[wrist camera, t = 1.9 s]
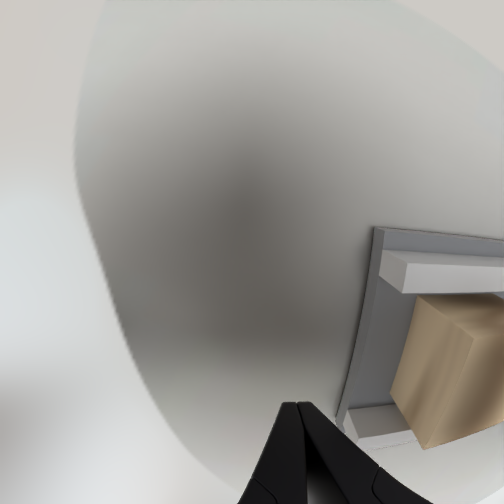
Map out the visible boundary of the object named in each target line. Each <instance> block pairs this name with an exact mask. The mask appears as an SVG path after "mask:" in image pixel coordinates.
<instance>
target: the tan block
mask: <svg viewBox="0 0 504 504" xmlns="http://www.w3.org/2000/svg"><path fill="white" fill-rule="evenodd" d="M390 395H391V396H392V398H393V400H394V401H395V403H396V405H397V406H398V408H399V410H400V411H401V413H402V415H403V416H404V418H405V420H406V421H407V423H408V425H409V426H410V428H411V430H412V431H413V433H414V435H415V436H416V438H417V440H418V442H419V443H420V445H421V447H422V449H423V450H425V449H428V448H432V447H435V446H438V445H442V444H445V443H448V442H451V441H454V440H457V439H460V438H463V437H466V436H468V435H471V434H474V433H476V432H479V431H481V430H484V429H486V428H489V427H491V426H494V425H496V424H498V423H500V422H503V420H504V299H502V298H500V297H499V296H497V295H495V294H493V293H491V294H461V295H417V298H416V303H415V307H414V312H413V316H412V320H411V324H410V328H409V332H408V335H407V339H406V343H405V346H404V350H403V353H402V356H401V360H400V363H399V366H398V369H397V372H396V375H395V378H394V381H393V384H392V387H391V390H390Z"/></svg>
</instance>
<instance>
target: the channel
mask: <svg viewBox="0 0 504 504" xmlns="http://www.w3.org/2000/svg"><path fill="white" fill-rule="evenodd" d="M491 293H493V294H495V295H497V296H499V297H500V298H502V299H504V241H501V240H494V239H486V238H477V237H469V236H460V235H451V234H442V233H433V232H423V231H413V230H403V229H392V228H381V227H375V228H374V237H373V245H372V253H371V260H370V267H369V274H368V280H367V287H366V293H365V298H364V304H363V309H362V315H361V320H360V325H359V330H358V335H357V339H356V344H355V348H354V353H353V357H352V361H351V365H350V369H349V373H348V377H347V381H346V385H345V389H344V392H343V396H342V400H341V403H340V407H339V410H338V414H337V417H336V420H335V421H336V424H337V427H338V429H340V430H341V431H342V432H343V433H346V435H347V437H348V438H349V439H350V440H351V441H353V442H354V443H355V444H356V445H357V446H358V447H359V448H360V449H361V450H362V451H368V450H374V449H380V448H385V447H390V446H395V445H400V444H405V443H409V442H413V441H417V438H416V436H415V435H414V433H413V431H412V430H411V428H410V426H409V425H408V423H407V421H406V420H405V418H404V416H403V415H402V413H401V411H400V410H399V408H398V406H397V405H396V403H395V401H394V400H393V398H392V396H391V395H390V390H391V387H392V384H393V381H394V378H395V375H396V372H397V369H398V366H399V363H400V360H401V356H402V353H403V350H404V346H405V343H406V339H407V335H408V332H409V328H410V324H411V320H412V316H413V312H414V307H415V303H416V298H417V295H461V294H491Z"/></svg>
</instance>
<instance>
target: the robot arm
mask: <svg viewBox="0 0 504 504" xmlns="http://www.w3.org/2000/svg"><path fill="white" fill-rule="evenodd" d="M237 504H433V503H431V502H429V501H428V500H426V499H424V498H423V497H421V496H420V495H418V494H416V493H415V492H413V491H412V490H410V489H409V488H407V487H406V486H404V485H403V484H401V483H400V482H399V481H398V480H396V479H395V478H394V477H392V476H391V475H390V474H389V473H388V472H386V471H385V470H384V469H383V468H382V467H379V465H378V464H377V463H376V462H375V461H374V460H372V459H371V458H370V457H369V456H368V455H367V454H366V453H365V452H364V451H362V450H361V449H360V448H359V447H358V446H357V445H356V444H355V443H354V442H353V441H351V440H350V439H349V438H348V437H347V436H346V435H345V434H344V433H343V432H342V431H341V430H340V429H338V428H337V427H336V426H335V425H334V424H333V423H332V422H331V421H330V420H329V419H328V418H327V417H326V416H325V415H324V414H323V413H322V412H321V411H320V410H319V409H318V408H317V407H315V406H314V405H313V404H312V403H311V402H297V403H296V402H283V403H282V404H281V407H280V410H279V412H278V415H277V417H276V420H275V422H274V425H273V427H272V430H271V432H270V435H269V437H268V439H267V442H266V444H265V447H264V449H263V451H262V454H261V456H260V458H259V461H258V463H257V465H256V467H255V470H254V472H253V474H252V476H251V479H250V480H249V482H248V485H247V487H246V489H245V491H244V493H243V495H242V496H241V498H240V500H239V502H238V503H237Z"/></svg>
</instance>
